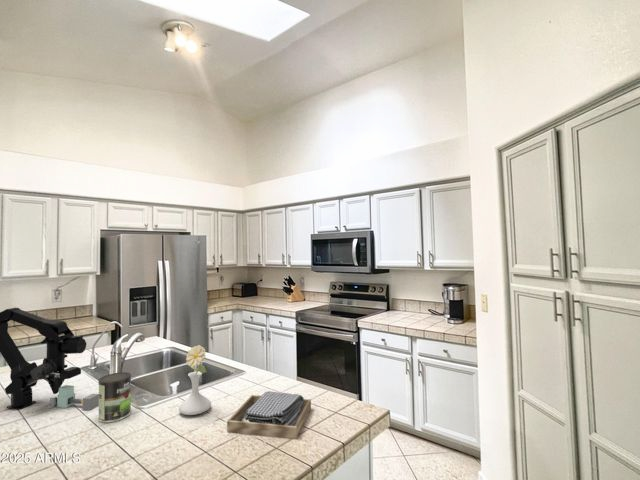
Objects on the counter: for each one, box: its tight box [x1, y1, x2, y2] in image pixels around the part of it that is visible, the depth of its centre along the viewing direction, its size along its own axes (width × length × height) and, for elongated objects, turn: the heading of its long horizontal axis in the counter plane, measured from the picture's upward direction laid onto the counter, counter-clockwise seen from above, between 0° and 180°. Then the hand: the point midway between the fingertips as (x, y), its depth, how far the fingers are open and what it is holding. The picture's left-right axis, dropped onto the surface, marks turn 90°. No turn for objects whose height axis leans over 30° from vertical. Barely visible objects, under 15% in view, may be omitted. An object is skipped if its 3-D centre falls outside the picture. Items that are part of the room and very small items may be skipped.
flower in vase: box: [178, 344, 212, 416], centre depth 127 cm, size 13×11×25 cm
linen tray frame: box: [226, 394, 312, 440], centre depth 119 cm, size 24×21×4 cm
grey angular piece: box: [45, 393, 99, 411], centre depth 132 cm, size 18×7×4 cm, turn 78°
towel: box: [245, 390, 305, 426], centre depth 119 cm, size 15×18×8 cm
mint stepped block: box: [56, 384, 76, 409], centre depth 133 cm, size 4×4×7 cm
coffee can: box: [97, 371, 132, 424], centre depth 124 cm, size 10×10×14 cm
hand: (55, 393), depth 134 cm, fingers closed
